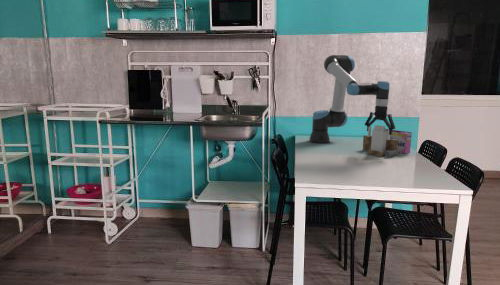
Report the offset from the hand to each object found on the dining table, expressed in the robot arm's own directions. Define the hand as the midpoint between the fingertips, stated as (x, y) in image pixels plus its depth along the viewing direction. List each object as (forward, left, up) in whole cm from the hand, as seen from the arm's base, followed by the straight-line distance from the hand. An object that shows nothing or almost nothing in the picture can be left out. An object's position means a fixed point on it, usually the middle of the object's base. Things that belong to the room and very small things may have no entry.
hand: (378, 138), depth 255 cm
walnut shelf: (-2, 0, -11) cm, 11 cm away
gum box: (+1, +19, -11) cm, 22 cm away
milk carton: (0, 0, -11) cm, 11 cm away
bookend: (+9, 0, -11) cm, 14 cm away
